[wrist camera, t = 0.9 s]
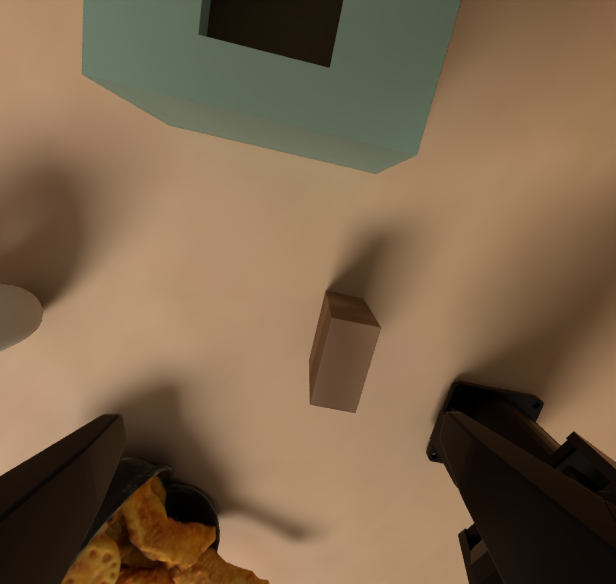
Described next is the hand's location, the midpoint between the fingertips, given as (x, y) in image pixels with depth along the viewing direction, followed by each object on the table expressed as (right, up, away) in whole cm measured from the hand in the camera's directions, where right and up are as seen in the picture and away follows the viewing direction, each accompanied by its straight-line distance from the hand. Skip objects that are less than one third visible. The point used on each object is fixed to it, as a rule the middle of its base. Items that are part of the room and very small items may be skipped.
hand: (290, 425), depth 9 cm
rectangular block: (+2, +1, +12) cm, 12 cm away
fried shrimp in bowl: (-9, -13, +16) cm, 23 cm away
